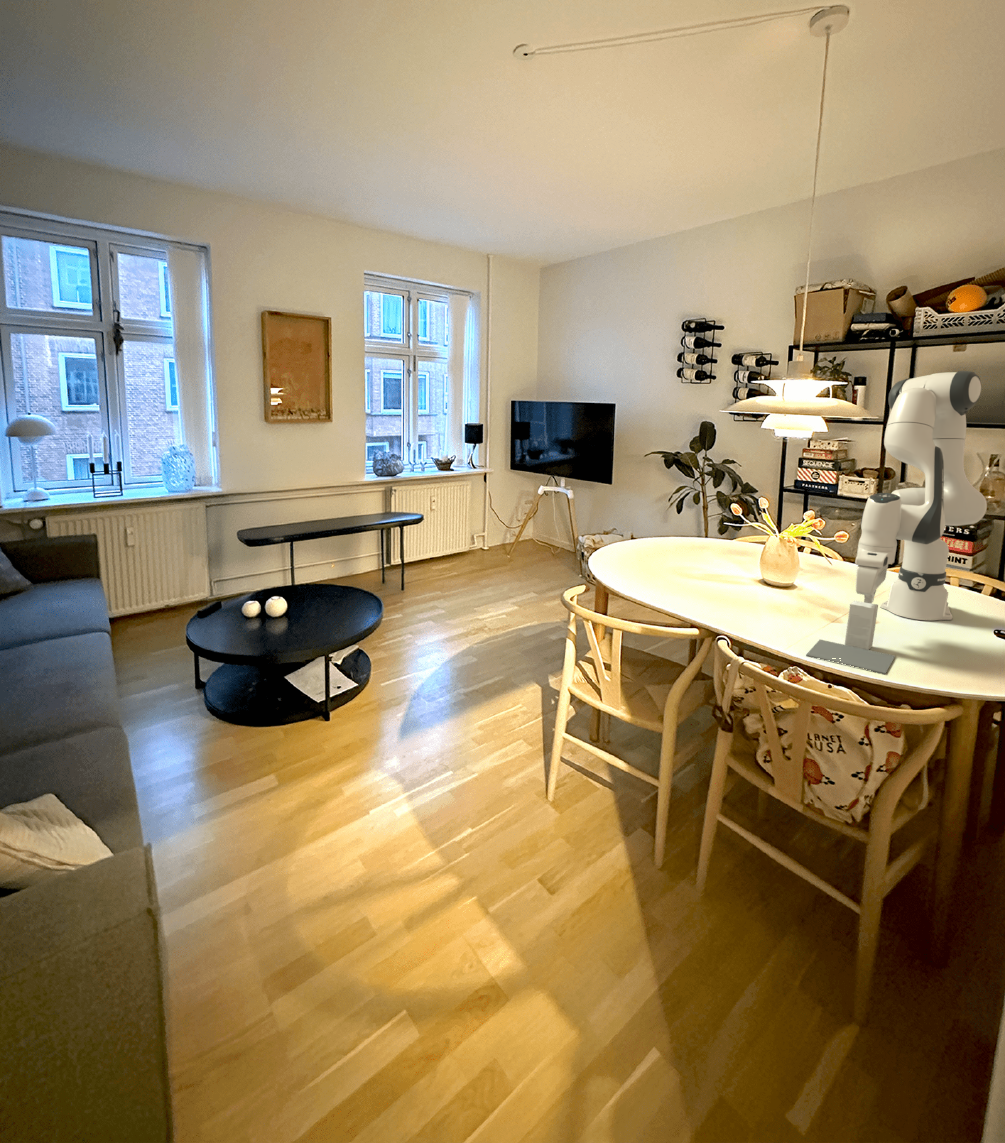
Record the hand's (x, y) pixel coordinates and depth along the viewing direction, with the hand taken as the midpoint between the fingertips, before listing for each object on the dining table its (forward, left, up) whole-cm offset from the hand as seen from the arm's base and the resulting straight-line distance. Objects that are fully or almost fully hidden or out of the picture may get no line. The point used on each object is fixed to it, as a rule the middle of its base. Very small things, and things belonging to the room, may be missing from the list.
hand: (868, 603), depth 170 cm
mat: (+16, 0, -10) cm, 19 cm away
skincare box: (+7, 0, -11) cm, 13 cm away
